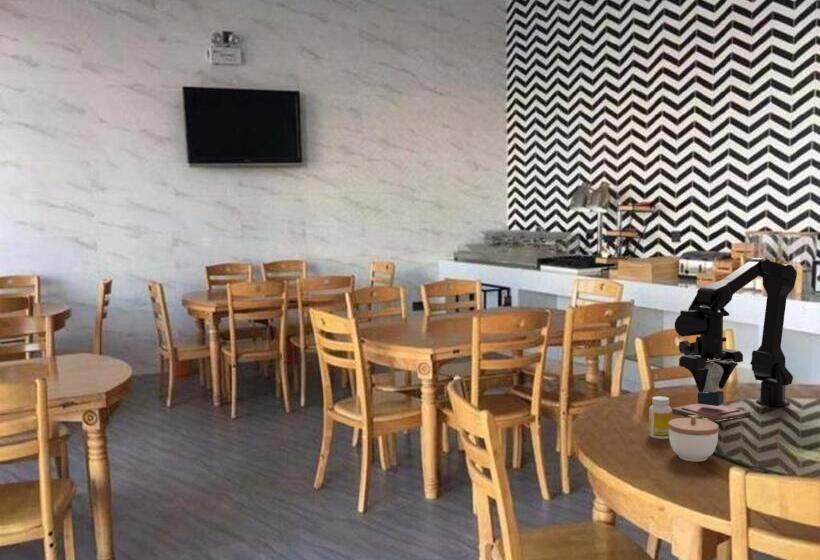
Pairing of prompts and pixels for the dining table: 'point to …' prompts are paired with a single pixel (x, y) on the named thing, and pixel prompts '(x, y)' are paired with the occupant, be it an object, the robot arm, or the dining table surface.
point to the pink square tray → (711, 411)
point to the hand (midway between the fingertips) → (710, 390)
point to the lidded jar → (693, 438)
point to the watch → (712, 386)
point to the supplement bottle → (659, 417)
